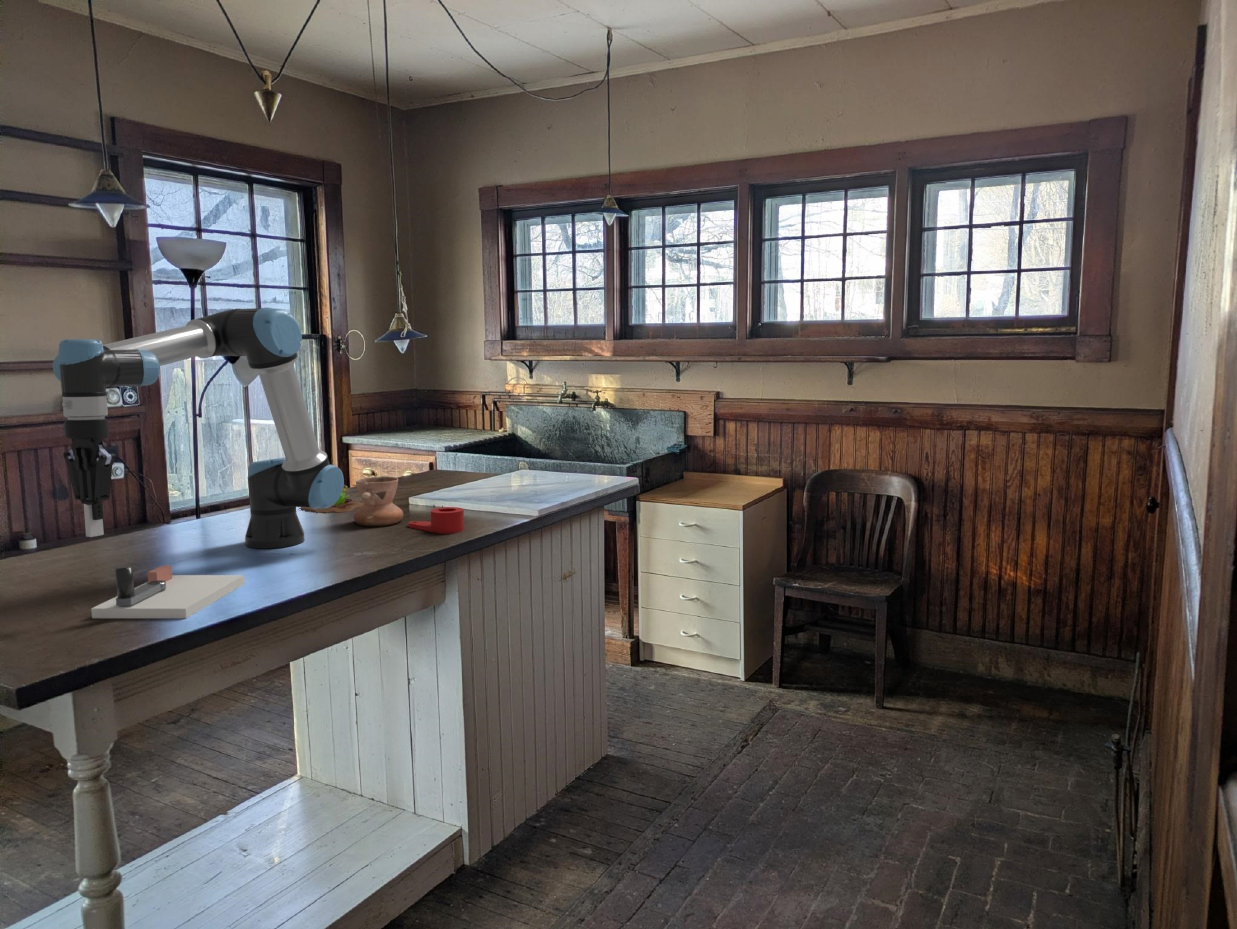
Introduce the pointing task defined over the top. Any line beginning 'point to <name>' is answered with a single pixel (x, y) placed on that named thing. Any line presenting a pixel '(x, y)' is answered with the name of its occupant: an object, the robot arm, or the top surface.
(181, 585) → the board
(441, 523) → the lever
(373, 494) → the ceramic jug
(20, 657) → the top surface
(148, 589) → the swing bar
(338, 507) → the plant
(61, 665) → the top surface
